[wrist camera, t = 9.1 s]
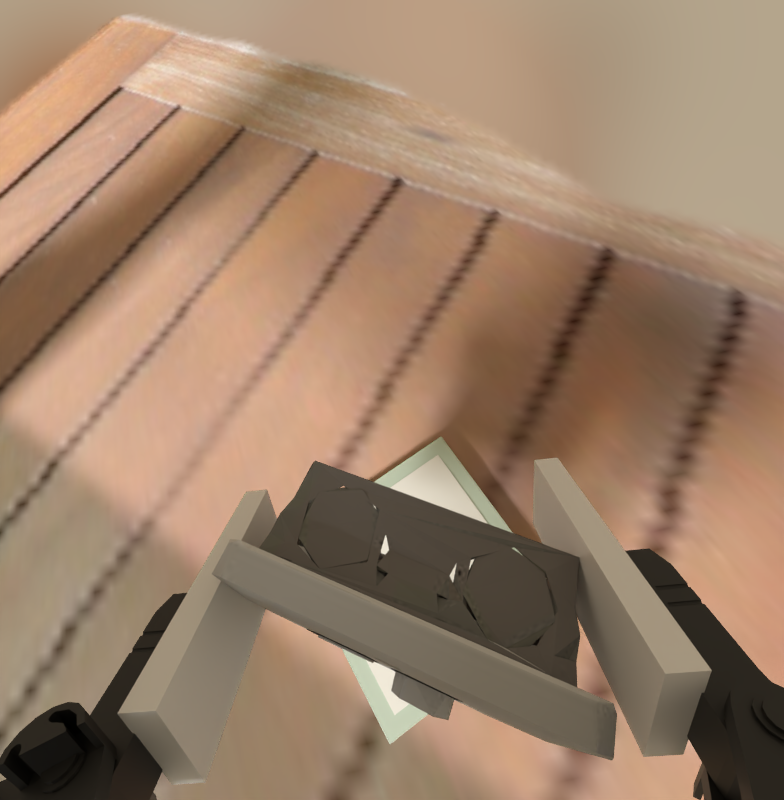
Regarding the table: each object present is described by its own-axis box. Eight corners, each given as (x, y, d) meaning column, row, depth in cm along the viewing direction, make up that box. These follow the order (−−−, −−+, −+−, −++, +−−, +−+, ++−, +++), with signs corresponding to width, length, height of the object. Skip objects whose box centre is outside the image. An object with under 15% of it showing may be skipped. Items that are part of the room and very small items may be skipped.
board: (294, 540, 27) (287, 540, 26) (440, 441, 29) (441, 435, 27) (392, 731, 23) (389, 745, 21) (559, 602, 24) (567, 606, 23)
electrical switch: (289, 615, 16) (154, 651, 8) (337, 501, 18) (271, 435, 10) (502, 715, 14) (623, 904, 6) (530, 576, 16) (649, 572, 8)
